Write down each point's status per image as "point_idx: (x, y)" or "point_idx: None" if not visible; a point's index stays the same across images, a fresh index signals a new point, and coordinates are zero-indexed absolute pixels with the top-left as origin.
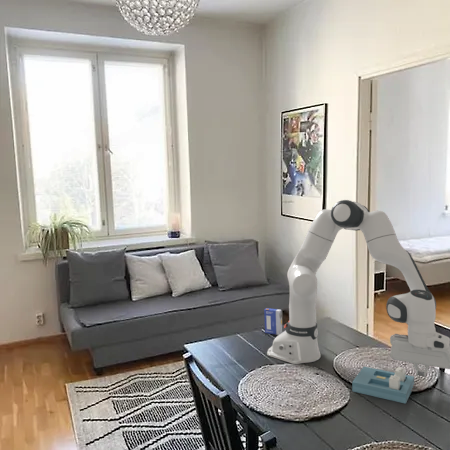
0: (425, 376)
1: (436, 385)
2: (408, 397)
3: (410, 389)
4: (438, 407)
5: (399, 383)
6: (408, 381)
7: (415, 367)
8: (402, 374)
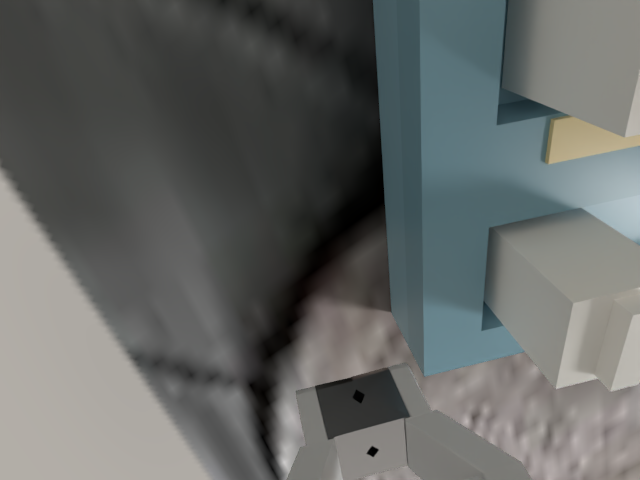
0: (296, 394)
1: (245, 414)
2: (378, 65)
3: (397, 186)
4: (15, 56)
5: (570, 60)
6: (454, 256)
7: (470, 450)
8: (567, 279)
